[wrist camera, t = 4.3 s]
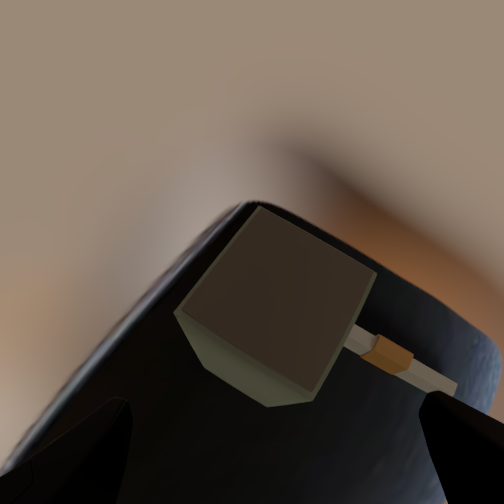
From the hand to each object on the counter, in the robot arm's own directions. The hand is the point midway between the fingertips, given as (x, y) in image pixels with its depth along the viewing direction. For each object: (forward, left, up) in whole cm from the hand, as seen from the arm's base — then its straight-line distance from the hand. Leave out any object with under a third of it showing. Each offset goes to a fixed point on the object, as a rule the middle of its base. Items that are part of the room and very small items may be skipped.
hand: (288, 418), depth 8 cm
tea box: (+2, -3, -12) cm, 13 cm away
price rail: (-4, -8, -12) cm, 15 cm away
